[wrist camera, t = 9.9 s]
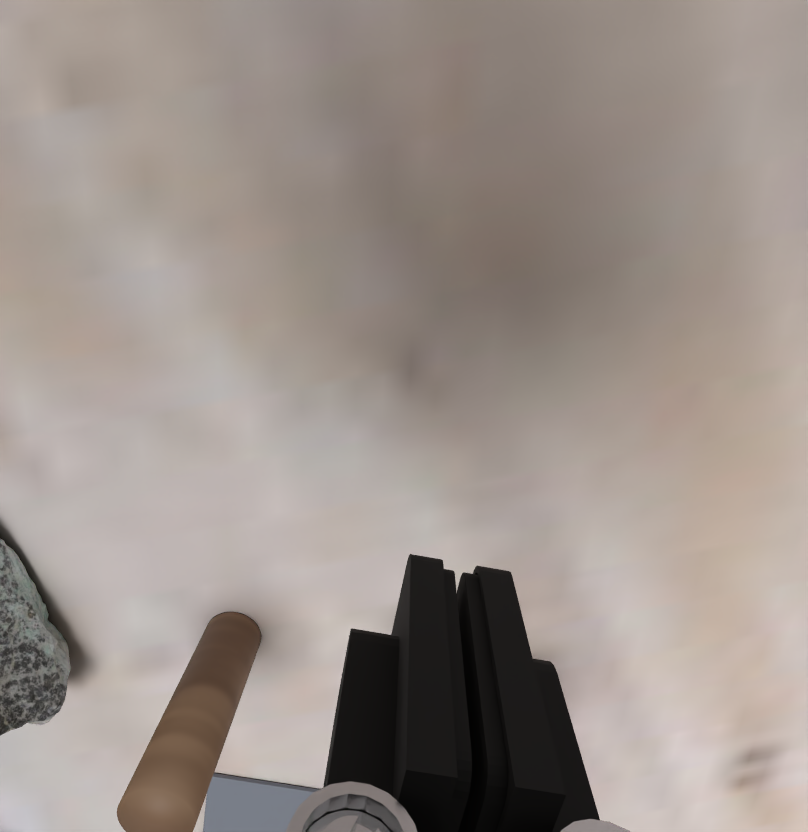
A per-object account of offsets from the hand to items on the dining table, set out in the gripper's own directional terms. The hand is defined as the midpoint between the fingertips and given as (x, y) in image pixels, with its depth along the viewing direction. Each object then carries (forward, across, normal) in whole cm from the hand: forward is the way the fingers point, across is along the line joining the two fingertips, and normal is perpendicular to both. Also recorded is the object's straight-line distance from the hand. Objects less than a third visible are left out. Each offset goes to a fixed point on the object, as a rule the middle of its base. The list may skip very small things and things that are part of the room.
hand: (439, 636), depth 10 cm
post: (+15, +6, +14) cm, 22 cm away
